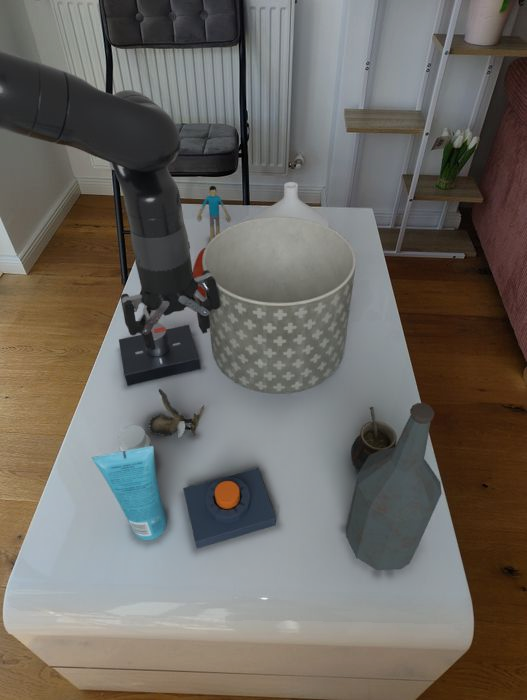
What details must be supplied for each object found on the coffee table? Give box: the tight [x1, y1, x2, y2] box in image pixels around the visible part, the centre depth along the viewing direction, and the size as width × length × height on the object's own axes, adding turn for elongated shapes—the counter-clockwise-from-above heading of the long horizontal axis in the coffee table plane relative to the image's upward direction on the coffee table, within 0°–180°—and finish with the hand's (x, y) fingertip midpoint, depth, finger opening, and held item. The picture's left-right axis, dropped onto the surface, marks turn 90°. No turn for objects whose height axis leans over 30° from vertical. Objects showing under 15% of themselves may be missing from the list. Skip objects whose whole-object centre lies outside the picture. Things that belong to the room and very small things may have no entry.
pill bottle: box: [118, 424, 156, 463], centre depth 82 cm, size 5×5×8 cm
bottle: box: [345, 402, 443, 571], centre depth 65 cm, size 10×10×30 cm
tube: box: [91, 445, 167, 541], centre depth 70 cm, size 7×5×19 cm, turn 107°
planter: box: [202, 217, 357, 395], centre depth 93 cm, size 25×25×24 cm
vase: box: [253, 181, 330, 228], centre depth 118 cm, size 18×18×19 cm
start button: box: [215, 481, 240, 509], centre depth 76 cm, size 4×4×2 cm
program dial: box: [145, 323, 169, 356], centre depth 98 cm, size 4×4×5 cm
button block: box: [182, 467, 277, 549], centre depth 77 cm, size 12×9×4 cm
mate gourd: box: [350, 406, 398, 472], centre depth 81 cm, size 7×8×10 cm
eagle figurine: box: [148, 388, 206, 439], centre depth 88 cm, size 8×7×9 cm
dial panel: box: [118, 324, 201, 386], centre depth 100 cm, size 14×10×3 cm
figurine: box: [196, 185, 232, 242], centre depth 125 cm, size 8×3×15 cm, turn 94°
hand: (177, 338), depth 82 cm, fingers open, 8 cm apart
